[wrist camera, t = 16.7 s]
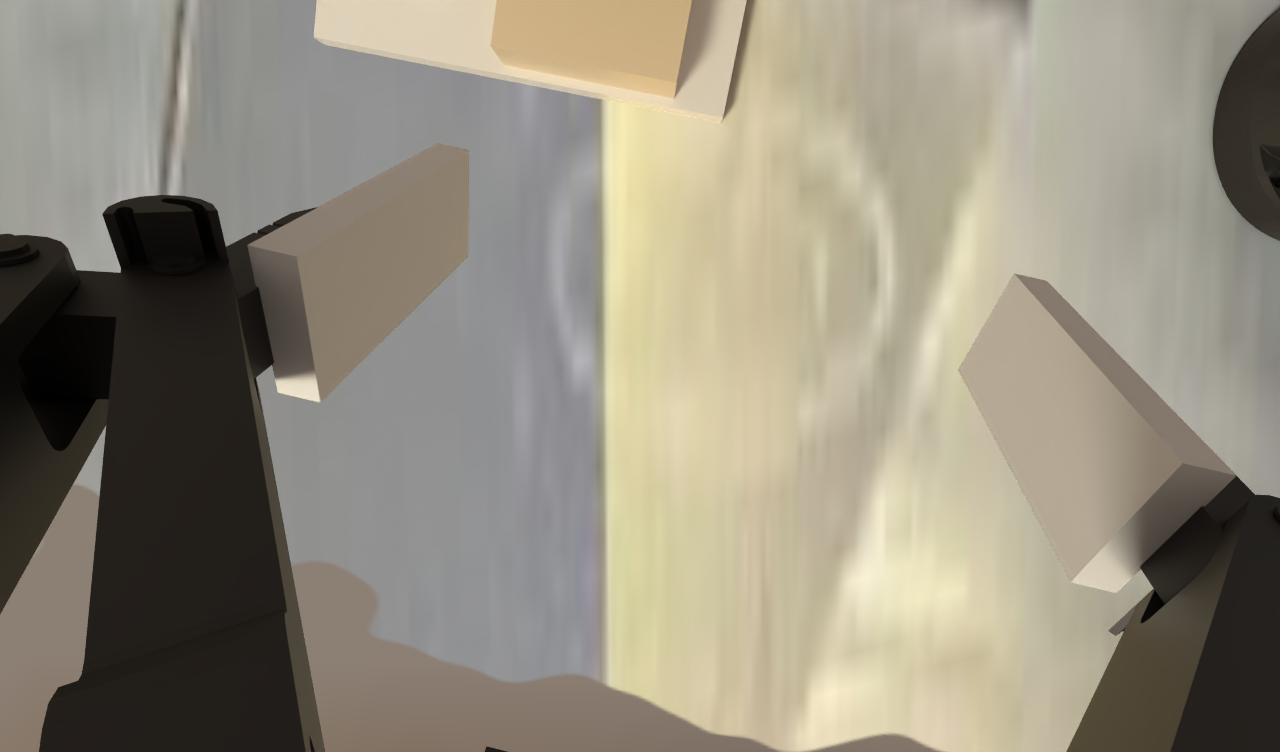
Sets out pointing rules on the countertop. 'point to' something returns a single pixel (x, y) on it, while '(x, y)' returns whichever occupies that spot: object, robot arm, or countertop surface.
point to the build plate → (476, 56)
